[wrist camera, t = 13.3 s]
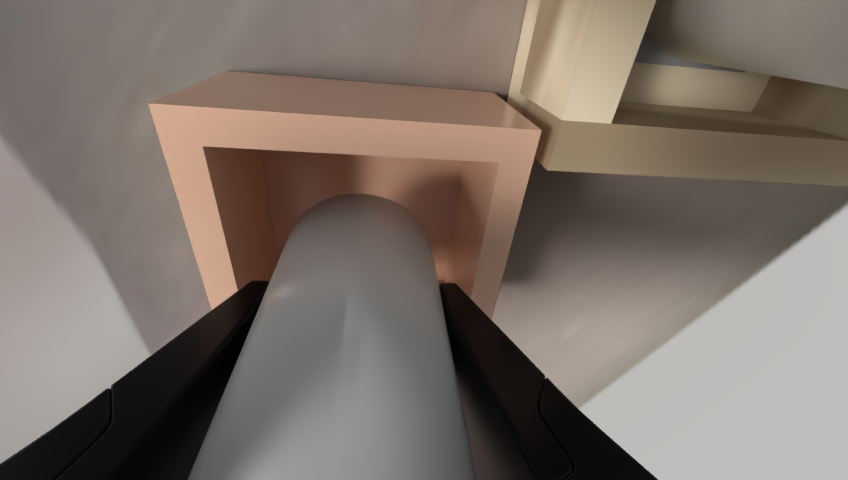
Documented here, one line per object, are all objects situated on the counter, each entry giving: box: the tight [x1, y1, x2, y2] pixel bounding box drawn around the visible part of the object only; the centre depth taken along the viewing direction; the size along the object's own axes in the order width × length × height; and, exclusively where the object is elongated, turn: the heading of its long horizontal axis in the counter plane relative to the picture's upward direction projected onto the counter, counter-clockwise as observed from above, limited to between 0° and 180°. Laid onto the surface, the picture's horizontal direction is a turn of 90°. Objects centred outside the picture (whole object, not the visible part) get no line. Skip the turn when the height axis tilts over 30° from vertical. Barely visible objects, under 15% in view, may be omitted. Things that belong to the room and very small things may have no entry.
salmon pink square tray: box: [148, 71, 542, 319], centre depth 11 cm, size 8×8×4 cm
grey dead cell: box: [188, 194, 477, 480], centre depth 7 cm, size 4×4×8 cm
